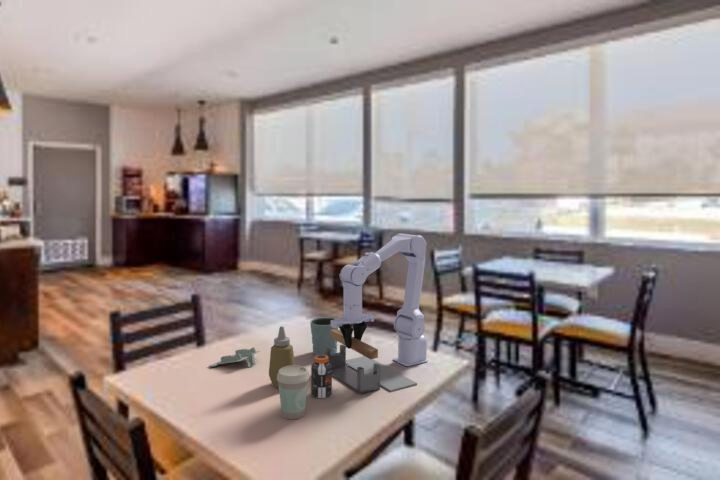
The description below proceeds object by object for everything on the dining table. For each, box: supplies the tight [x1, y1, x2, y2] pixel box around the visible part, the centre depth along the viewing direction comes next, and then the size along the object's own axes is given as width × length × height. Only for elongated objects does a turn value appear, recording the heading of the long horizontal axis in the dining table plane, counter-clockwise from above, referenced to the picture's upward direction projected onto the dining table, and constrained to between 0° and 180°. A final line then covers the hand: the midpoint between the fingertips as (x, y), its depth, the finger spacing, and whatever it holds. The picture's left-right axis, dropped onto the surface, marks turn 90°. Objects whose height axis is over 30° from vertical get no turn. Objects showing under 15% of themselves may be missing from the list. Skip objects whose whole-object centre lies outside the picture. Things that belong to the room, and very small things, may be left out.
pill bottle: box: [310, 355, 333, 399], centre depth 138 cm, size 6×6×11 cm
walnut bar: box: [330, 328, 379, 360], centre depth 149 cm, size 2×24×2 cm, turn 32°
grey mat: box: [346, 355, 418, 393], centre depth 155 cm, size 10×28×1 cm, turn 32°
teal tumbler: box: [309, 316, 339, 357], centre depth 172 cm, size 10×10×12 cm
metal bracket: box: [207, 346, 261, 368], centre depth 163 cm, size 14×6×15 cm
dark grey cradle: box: [325, 343, 381, 395], centre depth 149 cm, size 7×22×8 cm, turn 32°
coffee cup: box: [277, 364, 311, 420], centre depth 125 cm, size 8×8×12 cm
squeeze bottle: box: [268, 325, 296, 389], centre depth 144 cm, size 8×8×18 cm
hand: (352, 346), depth 149 cm, fingers closed on walnut bar, 2 cm apart
